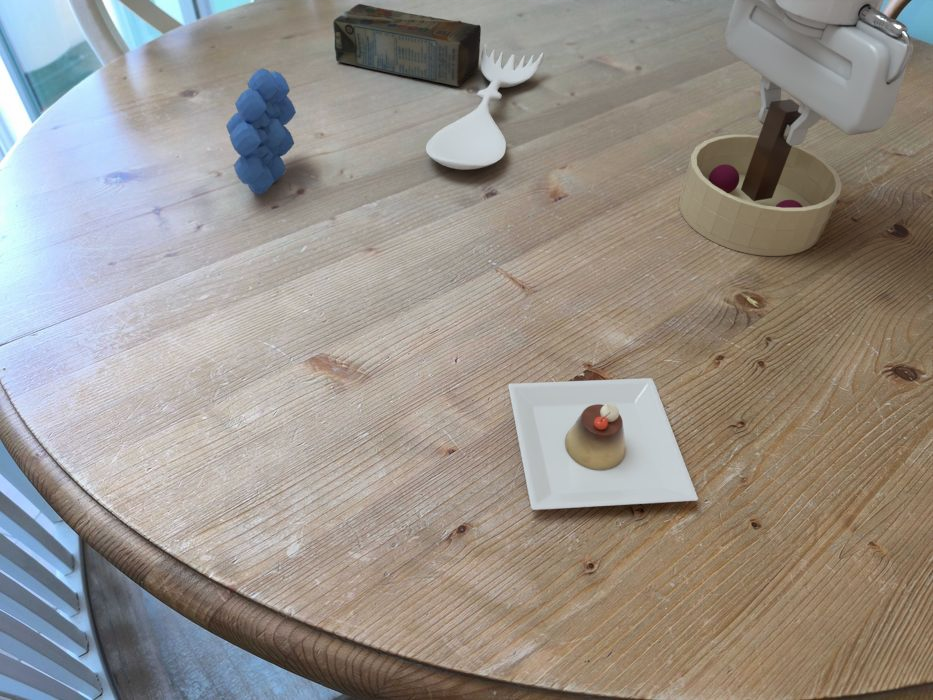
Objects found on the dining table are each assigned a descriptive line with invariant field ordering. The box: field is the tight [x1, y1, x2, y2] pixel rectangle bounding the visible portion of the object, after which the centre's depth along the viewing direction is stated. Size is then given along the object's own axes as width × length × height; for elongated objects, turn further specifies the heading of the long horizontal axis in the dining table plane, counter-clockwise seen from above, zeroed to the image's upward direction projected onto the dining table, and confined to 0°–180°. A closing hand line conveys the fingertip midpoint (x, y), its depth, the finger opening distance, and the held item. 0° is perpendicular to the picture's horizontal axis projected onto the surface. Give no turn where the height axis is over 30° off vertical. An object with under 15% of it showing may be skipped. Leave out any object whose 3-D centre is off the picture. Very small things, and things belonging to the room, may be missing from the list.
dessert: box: [507, 377, 699, 511], centre depth 56 cm, size 12×12×5 cm
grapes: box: [226, 67, 297, 195], centre depth 78 cm, size 12×7×12 cm, turn 166°
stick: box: [741, 98, 802, 201], centre depth 76 cm, size 2×2×10 cm
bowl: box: [678, 133, 843, 257], centre depth 80 cm, size 15×15×6 cm
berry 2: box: [775, 200, 803, 208], centre depth 78 cm, size 3×3×3 cm
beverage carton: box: [332, 3, 482, 87], centre depth 103 cm, size 8×19×7 cm, turn 69°
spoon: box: [425, 43, 545, 170], centre depth 94 cm, size 9×32×4 cm, turn 165°
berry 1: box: [709, 164, 739, 193], centre depth 82 cm, size 3×3×3 cm
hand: (778, 132), depth 75 cm, fingers closed on stick, 2 cm apart
